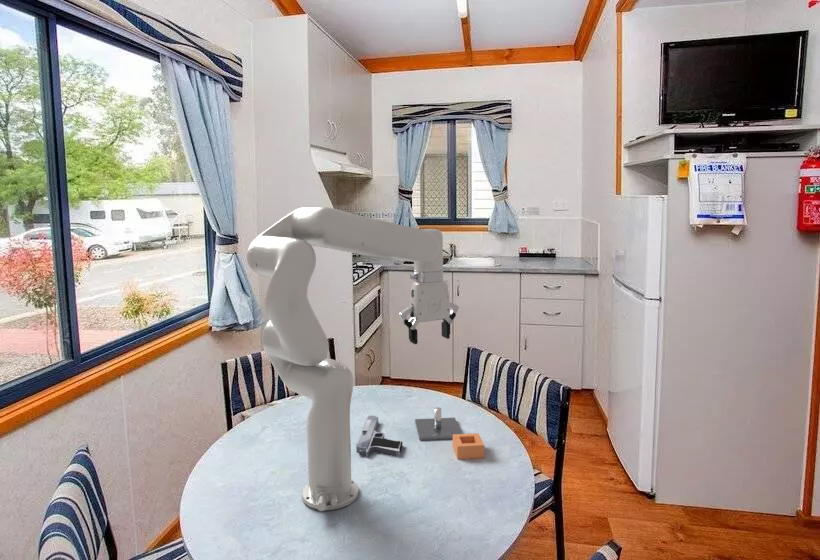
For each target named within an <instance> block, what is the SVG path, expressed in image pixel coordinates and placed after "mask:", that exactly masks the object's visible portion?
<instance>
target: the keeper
mask: <svg viewBox="0 0 820 560" xmlns="http://www.w3.org/2000/svg"><path fill="white" fill-rule="evenodd" d="M433 412H434V413H433V415H434V417H433V418H416V419H414V423H415V429H416V432H417V435H418V436H419V437H418V436H417V437H418V439H419V440H420V441H436V440H437V441H439V440H438V439H442V440H453V434H463V433H462V431H461V429H460V426H459V424H458V422H457V420H456V417H443V418H442V408H441V407H438V406H437V407H435V408H434V411H433Z"/></svg>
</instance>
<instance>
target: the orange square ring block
mask: <svg viewBox="0 0 820 560" xmlns="http://www.w3.org/2000/svg"><path fill="white" fill-rule="evenodd" d="M452 448H453V451H455V452H454V454H455V457H456V459H457V460H468V459H470V460H471V458H473V459H484V458H485V443H484V441H483V440H482V437H481V436H480V434H479V432H477V433H462V434H453V439H452Z"/></svg>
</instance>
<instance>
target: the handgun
mask: <svg viewBox="0 0 820 560" xmlns="http://www.w3.org/2000/svg"><path fill="white" fill-rule="evenodd" d="M378 426H379V417H378V416H376V415H368V416H367V418H366V421H365V423H364V425H363V427H362V430H361V431H362V432H361V434H360V436H359V438H358V441H357V443H356V453H357V454H358V455H359V456H364V455H365V457H366V459H367V458H368V459H369V456H370V454H373V452H374V453H376V452H378V454H382V453H383V454H382V455H386V454H387V456H391V455H392V457H396V458H397V456H399V457H400V453H401V454H402V450H403V441H402V440H397V441H396V440H391V439H387V438H385V432H378V431H377V429H378Z"/></svg>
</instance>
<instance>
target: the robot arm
mask: <svg viewBox="0 0 820 560" xmlns="http://www.w3.org/2000/svg"><path fill="white" fill-rule="evenodd" d="M443 239H444V238H443V233H442V231H441V230H440V229H435V228H418V227H413V226H409V225H403V224H398V223H393V222H390V221H385V220H380V219H375V218H372V217H367V216H364V215H359V214H355V213H352V212H348V211H345V210H341V209H338V208H333V207H324V206H304V207H300V208H297V209H295V210H293V211H291V212H289V213H288V214H287V215H286V216H284V217H282V218H281V219H279V221H277V222H275V223H274V224H273V225H271V226H270V227H269V228H267V229H265V231H263V232H262V233H260V234H259V235H258V236H256V238H254V239H253V241H252V242H251V243H250V244H249V246H248V249H247V252H246V261H247V264H248V266H249V268H250V269H251V270H252V271H253V272H254V273H255V274H256V275H259V276H262V277H266V278H270V280H269V283H268V286H267V290H266V294H265V299H264V308H265V312H266V314H267V317H268V319H269V321H267V322H266V325H265V326H264V327H263V329H262V335H261V342H262V343H261V344H262V348H263V351H264V352H265V354H266V357H267V358H268V360H269V361H270V363H271V364H272V366H273V368H274V369H275V371H276V373H277V374H278V376H279V377H280V379H281V381H282V382H283V384H284V385H285V386H286V387H287V388H288V389H289V390H291V392H293V393H295V394H298V395H301V396H302V397H305V398H307V399H309V400H311V407H310V410H309V411H308V413H307V416H306V442H307V467H308V468H307V470H308V471H307V472H308V483H307V484H306V485H305V486H304V487H303V489H302V491H301V498H302V502H303V503H304V504H305V505H306V506H308V507H310V508H311V509H314V510H318V511H320V512H323V511H333V510H334V511H335V510H339V509H342V508H345V507H347V506H349V505H350V504H352V503H353V502H355V500H356V499H357V498H358V497H359V485H358V484H357V483H356V482H355V481H354V480H353V479H352V453H351V452H352V450H351V449H352V447H351V446H352V444H351V403H352V396H353V393H354V392H353V391H354V386H355V385H354V384H355V383H354V382H355V381H354V376H353V372H352V371H351V370H350V368H349V367H348V366H347V365H345V364H344V363H342V362H340V361H338V360H336V359H332V358H329V357H327V356H329V355H328V354H329V351H330V349H329V348H330V346H329V345H330V344H329V340H328V337H327V335H326V333H325V330H324V329H323V327H322V325H321V323H320V321H319V320H318V318H317V316H316V314H315V312H314V310H313V307H312V305H311V303H310V300H309V299H308V298H309V297H308V289H309V284H310V282H311V278H312V276H313V274H314V271H315V268H316V265H317V264H316V263H317V256H316V252H315V249H314V247H318V248H319V247H320V248H323V249H331V250H335V251H342V252H346V253H350V254H351V253H353V254H358V255H360V256H361V255H362V256H368V257H369V256H370V257H378V258H379V257H380V258H382V257H383V258H391V259H393V260H397V261H401V262H402V261H403V262H413V269H414V270H413V273H411V274H410V275H409V279H410V280H413V282H412V284H411V289H410V293H409V295H410V296H409V305H408V306H407V307H406V308H404V309H403V310H401V311H400V312H399V313H398V316H399V318H400V320H401V322H402V324H404V326H406V327H407V328H408V340H409V342H410V343H412V344H414V345H417V344H418V329H416V328H417V326H418V324H419V323H427V322H428V323H429V322H433V321H440V320H442V322H440V323H441V325H440V326H441V337H443V338H445V339H447V340H448V339H449V340H450V335H451V324H452V323H453V320H454V319H455V318H456V316H457V313H458V310H459V308H460V307H459V305H456V304H455V303H452V302H451V301H450V295H449V288H448V283H447V281H446V280H444V240H443ZM408 315H409V317H410V319H409V320H408V317H407V316H408Z"/></svg>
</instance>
